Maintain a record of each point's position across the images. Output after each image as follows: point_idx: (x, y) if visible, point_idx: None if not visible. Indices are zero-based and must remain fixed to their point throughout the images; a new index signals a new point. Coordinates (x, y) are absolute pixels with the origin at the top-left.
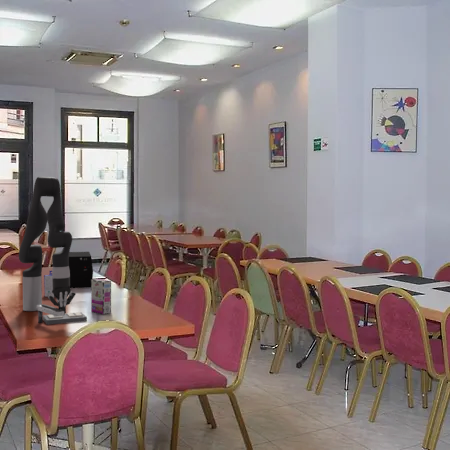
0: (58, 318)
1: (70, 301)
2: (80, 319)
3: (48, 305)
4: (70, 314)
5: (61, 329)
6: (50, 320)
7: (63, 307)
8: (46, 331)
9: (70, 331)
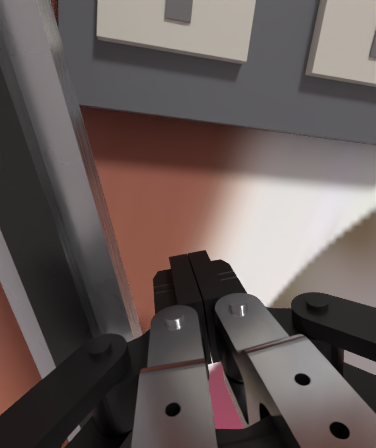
0: (193, 71)
1: (366, 394)
2: (363, 142)
3: (13, 106)
4: None
5: None
6: (97, 107)
7: (215, 357)
8: (23, 344)
9: None
